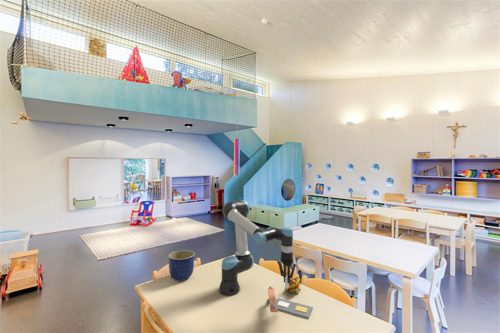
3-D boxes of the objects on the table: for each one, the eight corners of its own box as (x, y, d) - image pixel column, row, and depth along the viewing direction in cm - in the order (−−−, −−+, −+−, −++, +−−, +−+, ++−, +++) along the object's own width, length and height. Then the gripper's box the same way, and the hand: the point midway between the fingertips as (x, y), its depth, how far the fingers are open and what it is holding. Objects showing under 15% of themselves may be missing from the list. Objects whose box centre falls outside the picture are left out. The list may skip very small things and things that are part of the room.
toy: (300, 294, 174) (290, 274, 177) (288, 298, 177) (278, 278, 180) (304, 286, 186) (294, 267, 189) (293, 290, 190) (284, 271, 193)
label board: (271, 308, 160) (271, 306, 160) (277, 299, 171) (277, 297, 171) (308, 318, 150) (308, 316, 150) (312, 308, 161) (312, 306, 161)
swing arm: (267, 299, 168) (267, 285, 168) (273, 299, 168) (273, 285, 168) (270, 323, 143) (270, 307, 143) (277, 323, 143) (277, 307, 143)
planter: (162, 279, 199) (162, 255, 199) (182, 270, 217) (182, 248, 216) (180, 286, 188) (180, 261, 188) (199, 275, 206) (199, 253, 206)
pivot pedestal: (265, 303, 166) (265, 301, 166) (268, 299, 171) (268, 298, 171) (272, 305, 164) (272, 303, 164) (275, 301, 168) (275, 299, 168)
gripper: (275, 251, 161) (275, 287, 161) (295, 254, 156) (294, 292, 156) (279, 248, 168) (279, 282, 168) (298, 251, 162) (298, 287, 162)
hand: (286, 287), depth 162 cm, fingers closed
